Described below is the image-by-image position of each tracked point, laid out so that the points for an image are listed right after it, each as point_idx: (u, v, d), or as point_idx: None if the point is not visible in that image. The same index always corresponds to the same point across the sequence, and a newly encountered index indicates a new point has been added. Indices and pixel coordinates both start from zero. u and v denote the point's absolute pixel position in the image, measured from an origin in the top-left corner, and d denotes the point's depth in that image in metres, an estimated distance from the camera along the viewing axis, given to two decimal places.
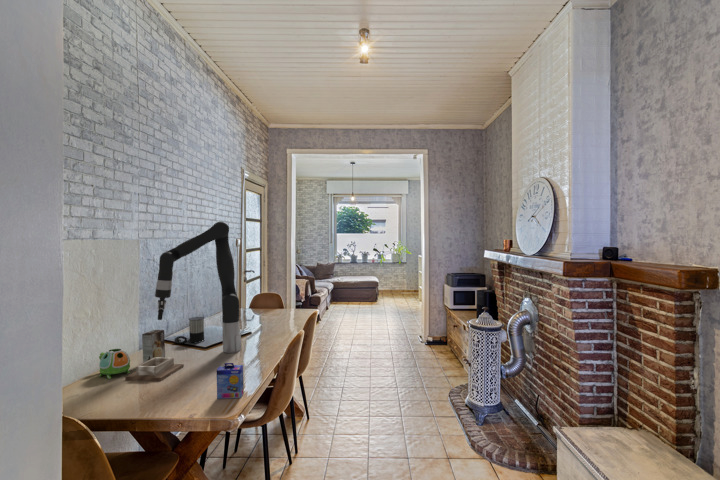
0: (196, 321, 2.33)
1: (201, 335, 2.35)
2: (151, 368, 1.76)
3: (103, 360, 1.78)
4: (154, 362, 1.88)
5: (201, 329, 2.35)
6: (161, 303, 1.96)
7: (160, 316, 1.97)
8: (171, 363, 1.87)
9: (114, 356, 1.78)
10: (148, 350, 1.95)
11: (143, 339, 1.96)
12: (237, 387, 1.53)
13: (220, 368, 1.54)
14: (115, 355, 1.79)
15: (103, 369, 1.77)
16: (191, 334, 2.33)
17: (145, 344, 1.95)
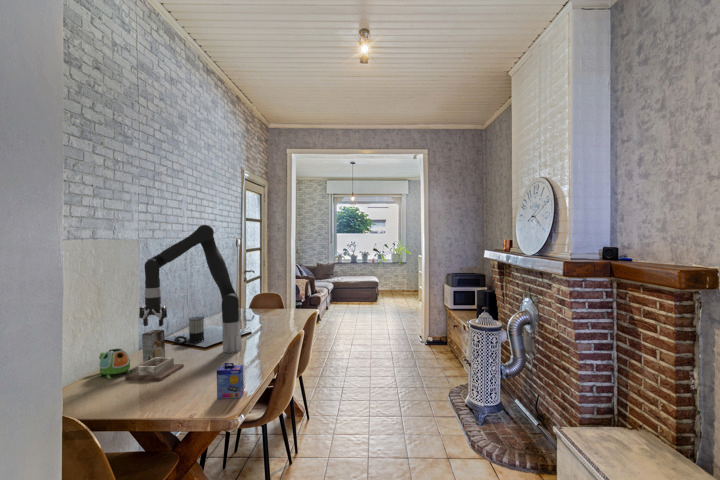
0: (196, 321, 2.33)
1: (201, 335, 2.35)
2: (151, 368, 1.76)
3: (103, 360, 1.78)
4: (154, 362, 1.88)
5: (201, 329, 2.35)
6: (164, 309, 1.99)
7: (162, 322, 1.99)
8: (171, 363, 1.87)
9: (114, 356, 1.78)
10: (148, 350, 1.95)
11: (143, 339, 1.96)
12: (237, 387, 1.53)
13: (220, 368, 1.54)
14: (115, 355, 1.79)
15: (103, 369, 1.77)
16: (191, 334, 2.33)
17: (145, 344, 1.95)
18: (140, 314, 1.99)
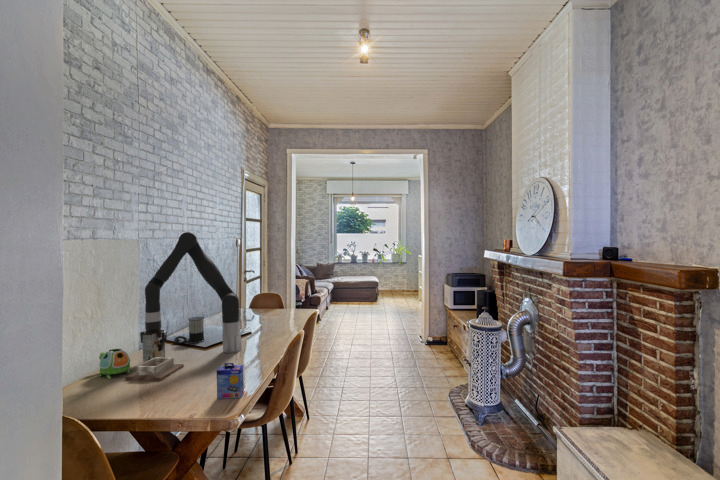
0: (196, 321, 2.33)
1: (201, 335, 2.35)
2: (151, 368, 1.76)
3: (103, 360, 1.78)
4: (154, 362, 1.88)
5: (201, 329, 2.35)
6: (165, 334, 1.99)
7: (162, 347, 1.99)
8: (171, 363, 1.87)
9: (114, 356, 1.78)
10: (148, 350, 1.95)
11: (143, 339, 1.96)
12: (237, 387, 1.53)
13: (220, 368, 1.54)
14: (115, 355, 1.79)
15: (103, 369, 1.77)
16: (191, 334, 2.33)
17: (145, 344, 1.95)
18: (141, 339, 1.99)
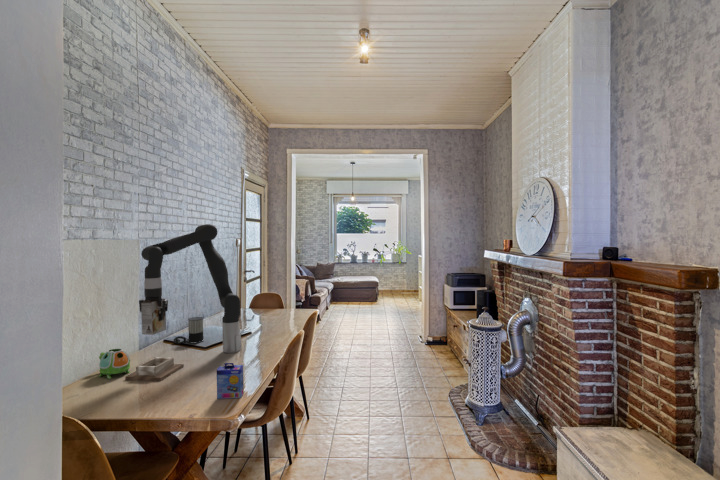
0: (195, 321, 2.33)
1: (200, 335, 2.35)
2: (151, 368, 1.76)
3: (103, 360, 1.78)
4: (154, 362, 1.88)
5: (200, 329, 2.35)
6: (166, 302, 1.82)
7: (162, 316, 1.83)
8: (171, 363, 1.87)
9: (114, 356, 1.78)
10: (147, 319, 1.78)
11: (142, 307, 1.79)
12: (237, 387, 1.53)
13: (220, 368, 1.54)
14: (115, 355, 1.79)
15: (103, 369, 1.77)
16: (190, 334, 2.33)
17: (145, 312, 1.79)
18: (140, 308, 1.82)
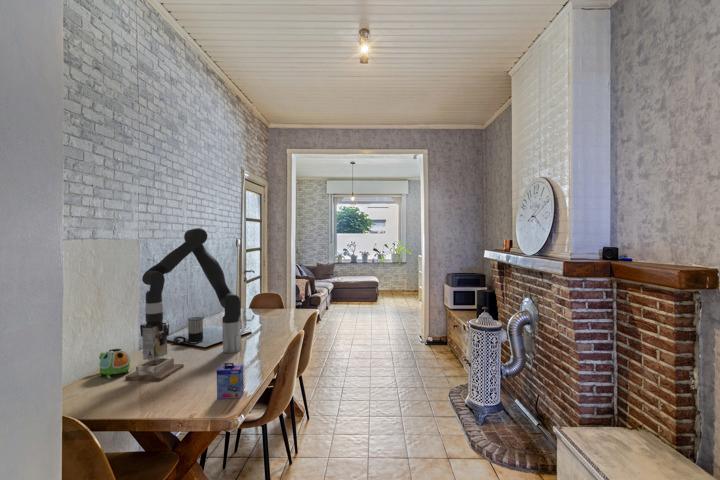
0: (195, 321, 2.33)
1: (200, 335, 2.35)
2: (151, 368, 1.76)
3: (103, 360, 1.78)
4: (154, 362, 1.88)
5: (200, 329, 2.35)
6: (167, 327, 1.82)
7: (164, 341, 1.82)
8: (171, 363, 1.87)
9: (114, 356, 1.78)
10: (148, 344, 1.78)
11: (143, 332, 1.78)
12: (237, 387, 1.53)
13: (220, 368, 1.54)
14: (115, 355, 1.79)
15: (103, 369, 1.77)
16: (190, 334, 2.33)
17: (146, 338, 1.78)
18: (141, 332, 1.82)
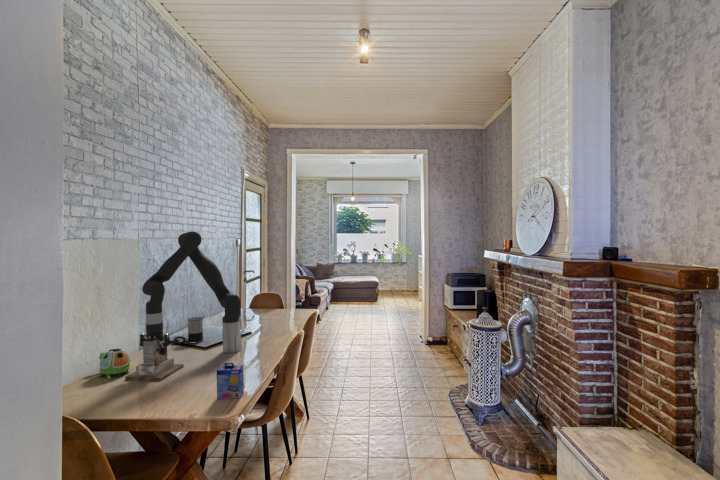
0: (195, 321, 2.32)
1: (200, 335, 2.35)
2: (151, 368, 1.76)
3: (103, 360, 1.78)
4: None
5: (200, 329, 2.35)
6: (167, 336, 1.82)
7: (165, 350, 1.82)
8: (171, 363, 1.87)
9: (114, 356, 1.78)
10: (149, 357, 1.78)
11: (143, 345, 1.79)
12: (237, 387, 1.53)
13: (220, 368, 1.54)
14: (115, 355, 1.79)
15: (103, 369, 1.77)
16: (190, 334, 2.33)
17: (146, 351, 1.78)
18: (141, 342, 1.82)
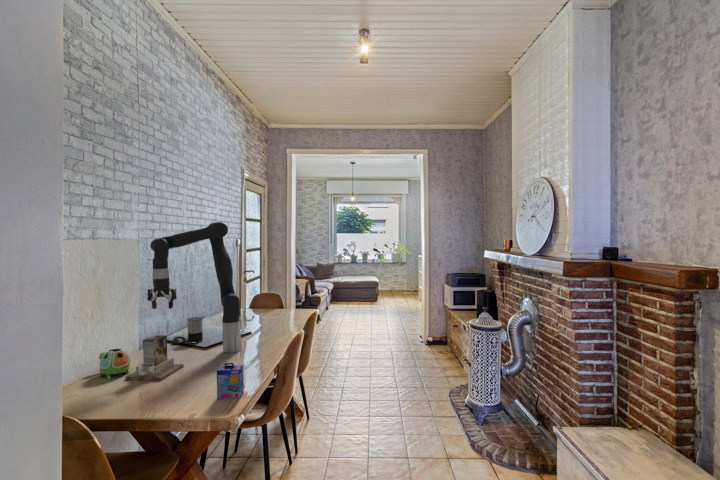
0: (194, 321, 2.32)
1: (199, 335, 2.35)
2: (151, 368, 1.76)
3: (103, 360, 1.78)
4: None
5: (199, 329, 2.35)
6: (174, 290, 1.91)
7: (172, 304, 1.92)
8: (171, 363, 1.87)
9: (114, 356, 1.78)
10: (149, 357, 1.78)
11: (143, 345, 1.79)
12: (237, 387, 1.53)
13: (220, 368, 1.54)
14: (115, 355, 1.79)
15: (103, 369, 1.77)
16: (189, 334, 2.33)
17: (146, 351, 1.78)
18: (148, 296, 1.91)
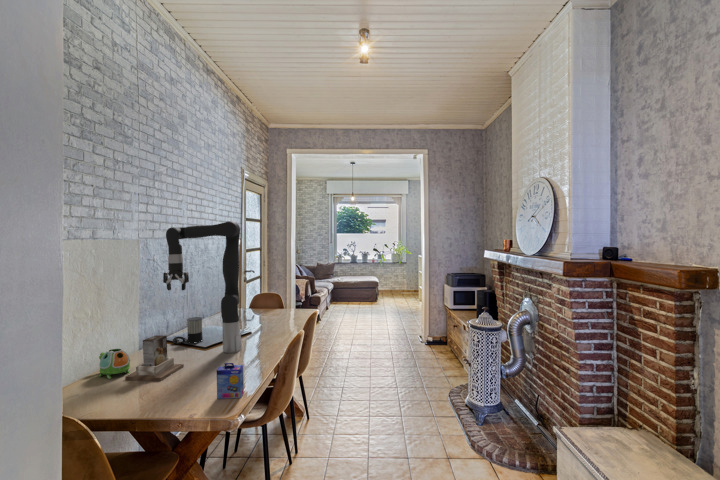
0: (194, 321, 2.32)
1: (199, 335, 2.34)
2: (151, 368, 1.76)
3: (103, 360, 1.78)
4: None
5: (199, 329, 2.34)
6: (187, 274, 2.13)
7: (185, 286, 2.13)
8: (171, 363, 1.87)
9: (114, 356, 1.78)
10: (149, 357, 1.78)
11: (143, 345, 1.79)
12: (237, 387, 1.53)
13: (220, 368, 1.54)
14: (115, 355, 1.79)
15: (103, 369, 1.77)
16: (189, 334, 2.32)
17: (146, 351, 1.78)
18: (164, 279, 2.13)
